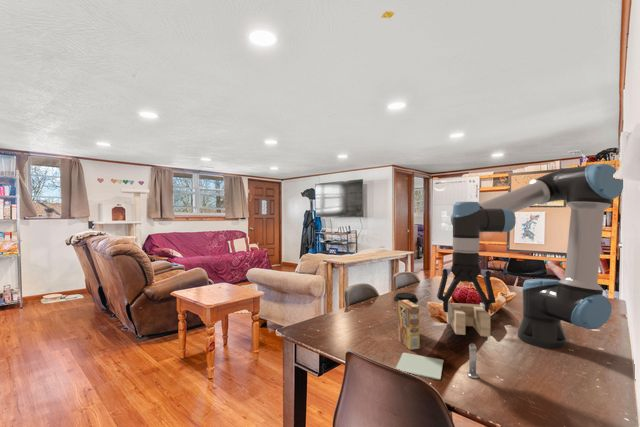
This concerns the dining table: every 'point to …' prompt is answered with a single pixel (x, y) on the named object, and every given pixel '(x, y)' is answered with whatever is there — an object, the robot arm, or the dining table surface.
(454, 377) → the dining table surface
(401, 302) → the candy box
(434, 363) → the felt mat
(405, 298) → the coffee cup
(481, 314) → the c link
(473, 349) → the stand
